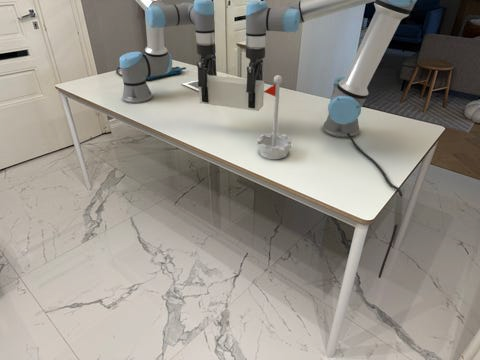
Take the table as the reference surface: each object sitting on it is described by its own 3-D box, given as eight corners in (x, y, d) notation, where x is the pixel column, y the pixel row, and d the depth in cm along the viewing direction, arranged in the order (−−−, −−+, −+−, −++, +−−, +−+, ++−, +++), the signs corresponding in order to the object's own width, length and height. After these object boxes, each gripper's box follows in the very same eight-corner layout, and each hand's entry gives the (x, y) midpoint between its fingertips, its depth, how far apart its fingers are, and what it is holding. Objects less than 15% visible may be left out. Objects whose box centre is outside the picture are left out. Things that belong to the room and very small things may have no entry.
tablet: (181, 84, 205) (181, 83, 205) (208, 77, 216) (208, 77, 216) (213, 98, 185) (213, 97, 185) (241, 90, 196) (241, 89, 196)
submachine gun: (171, 61, 240) (190, 66, 223) (172, 66, 242) (191, 72, 225) (125, 70, 221) (142, 76, 205) (126, 76, 223) (144, 82, 207)
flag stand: (280, 142, 140) (286, 68, 124) (296, 156, 130) (304, 78, 113) (251, 147, 136) (253, 72, 120) (265, 163, 126) (269, 82, 109)
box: (263, 105, 144) (264, 80, 138) (258, 111, 139) (259, 85, 133) (205, 98, 152) (204, 74, 146) (199, 103, 147) (197, 78, 141)
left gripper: (207, 38, 144) (210, 91, 156) (186, 47, 129) (190, 105, 141) (223, 39, 142) (225, 93, 154) (204, 49, 126) (207, 108, 139)
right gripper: (254, 41, 138) (252, 96, 151) (237, 51, 123) (237, 111, 135) (271, 42, 136) (269, 98, 148) (257, 53, 120) (255, 114, 133)
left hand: (208, 99), depth 148 cm, fingers closed on box, 6 cm apart
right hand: (254, 104), depth 142 cm, fingers closed on box, 7 cm apart
